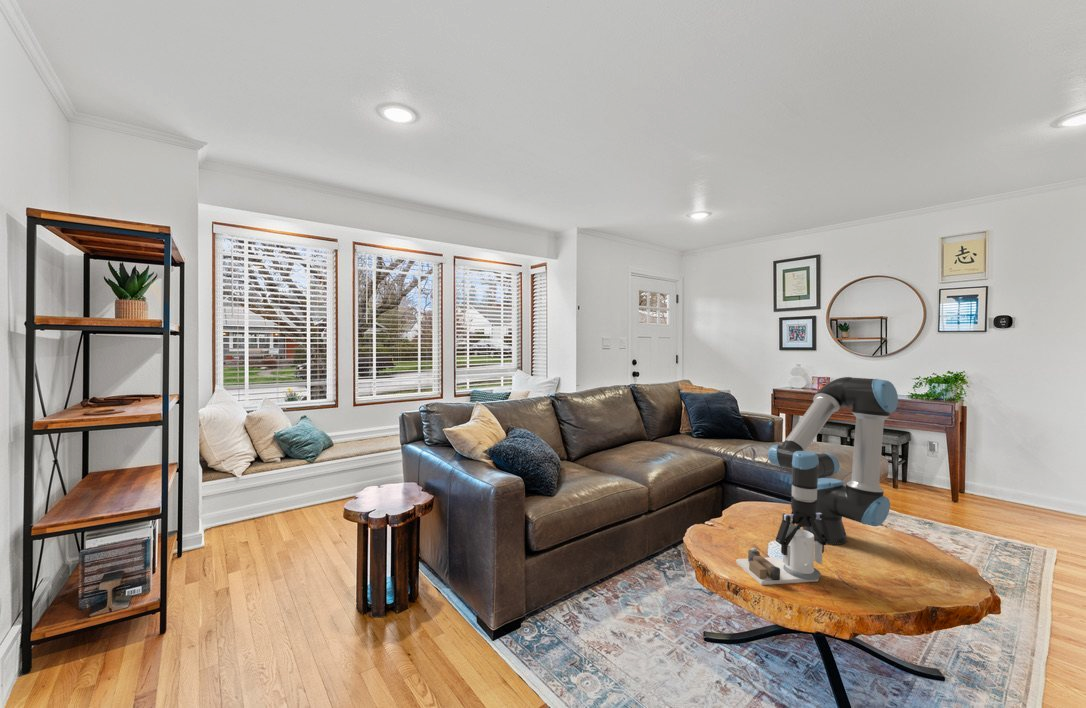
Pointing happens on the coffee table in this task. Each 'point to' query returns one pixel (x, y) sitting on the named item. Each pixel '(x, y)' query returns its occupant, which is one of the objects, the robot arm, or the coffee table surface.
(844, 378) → the robot arm
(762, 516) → the coffee table surface
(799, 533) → the mug
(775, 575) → the leg
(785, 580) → the stand board
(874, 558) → the coffee table surface
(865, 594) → the coffee table surface
